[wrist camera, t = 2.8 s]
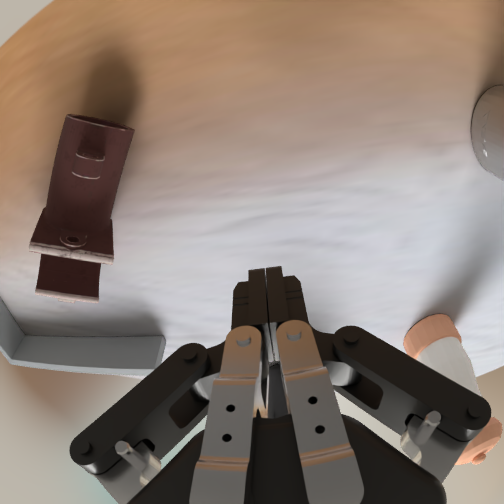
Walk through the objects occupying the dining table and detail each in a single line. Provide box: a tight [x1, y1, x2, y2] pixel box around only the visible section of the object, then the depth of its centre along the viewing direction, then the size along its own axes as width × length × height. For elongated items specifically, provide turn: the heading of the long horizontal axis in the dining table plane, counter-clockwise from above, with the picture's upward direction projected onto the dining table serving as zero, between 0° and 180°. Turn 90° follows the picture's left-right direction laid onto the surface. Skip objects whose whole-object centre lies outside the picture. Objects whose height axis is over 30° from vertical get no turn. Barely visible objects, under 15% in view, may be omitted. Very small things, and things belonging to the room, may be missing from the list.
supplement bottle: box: [268, 364, 288, 419], centre depth 34 cm, size 7×7×12 cm
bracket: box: [29, 114, 135, 303], centre depth 22 cm, size 6×17×10 cm, turn 159°
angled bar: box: [0, 298, 166, 376], centre depth 27 cm, size 25×28×5 cm
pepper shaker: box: [403, 314, 502, 465], centre depth 27 cm, size 7×7×19 cm
